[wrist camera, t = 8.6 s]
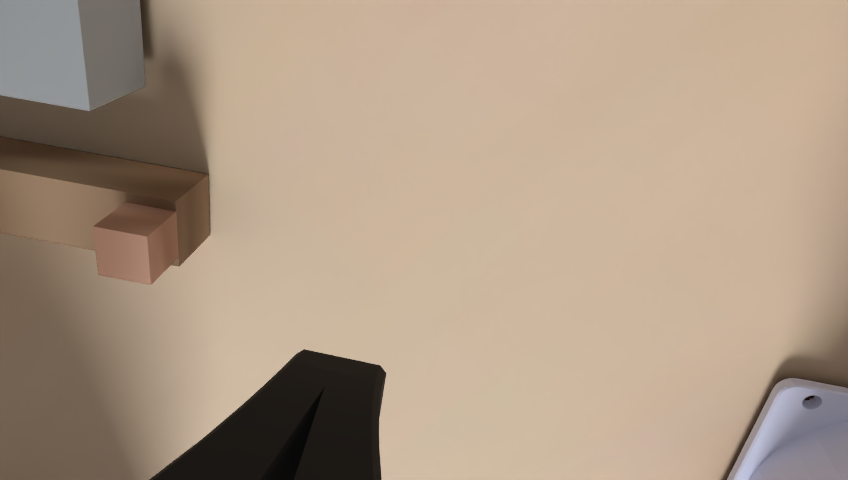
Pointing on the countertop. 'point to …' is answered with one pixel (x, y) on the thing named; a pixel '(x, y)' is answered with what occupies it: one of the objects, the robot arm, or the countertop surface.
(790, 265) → the countertop surface
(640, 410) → the countertop surface
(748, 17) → the countertop surface
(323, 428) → the robot arm
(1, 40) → the stacked grey base
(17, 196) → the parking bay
